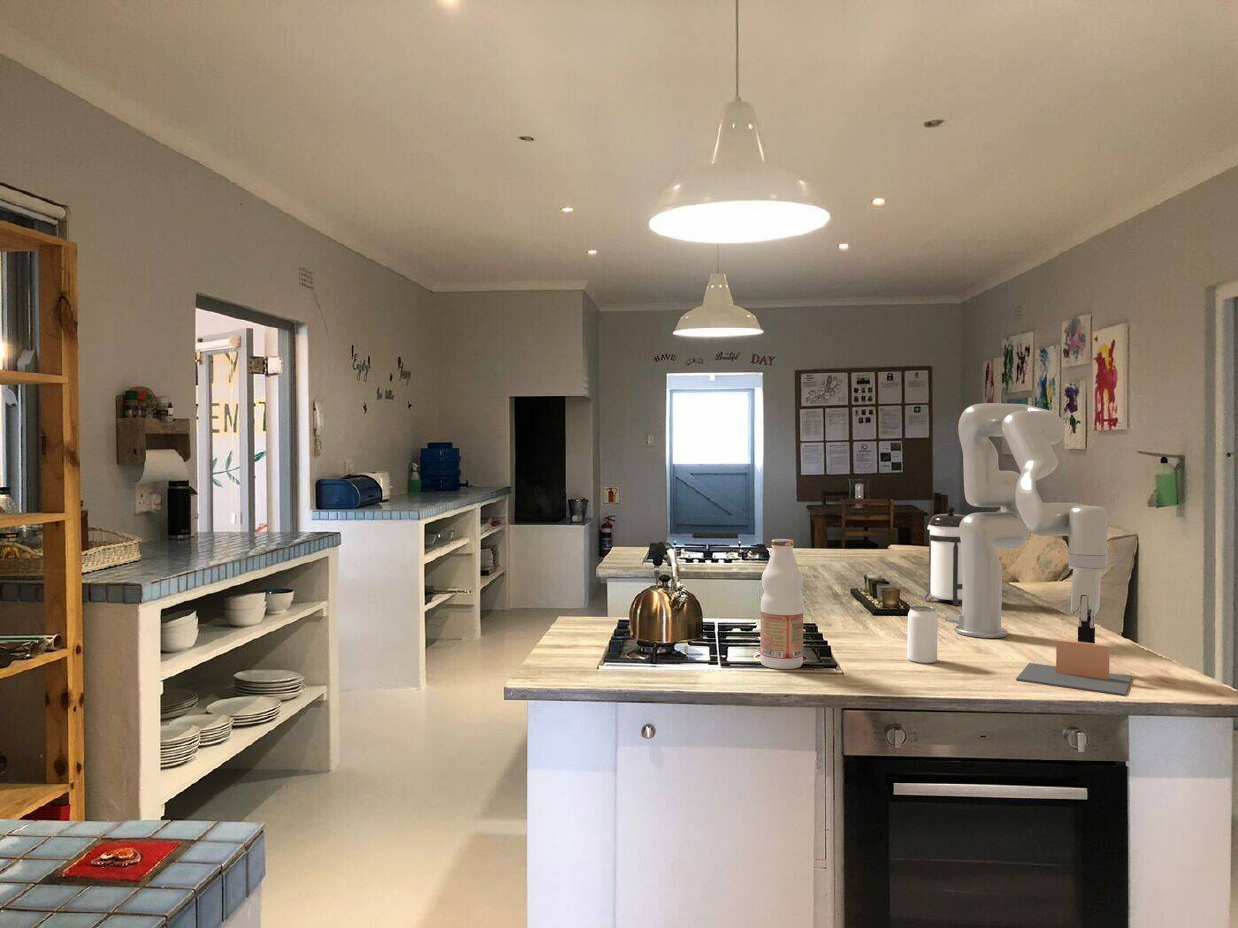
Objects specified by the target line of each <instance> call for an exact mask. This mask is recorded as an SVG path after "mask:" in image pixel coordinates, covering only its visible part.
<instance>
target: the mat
mask: <svg viewBox="0 0 1238 928" xmlns="http://www.w3.org/2000/svg"><path fill="white" fill-rule="evenodd" d="M1015 680H1016V681H1017V682H1024V683H1032V684H1040V685H1045V686H1046V685H1047V686H1053V687H1060V688H1069V689H1075V690H1081V691H1087V692H1088V691H1089V692H1096V693H1101V694H1107V695H1108V694H1109V695H1114V696H1115V695H1117V696H1124V697H1126V696H1127V692H1128V689H1129V687H1130V684H1131V681H1132V675H1125V674H1117V673H1110V674H1109V680H1106V679H1099V678H1091V677H1084V676H1076V675H1069V674H1061V673H1056V665H1049V664H1042V663H1041V664H1040V663H1034V662H1029V663H1028V664H1027V665H1026V666H1025V668H1024V669H1023V670H1022V671H1021V672H1020V673H1019V674H1018V676H1017V677H1016V679H1015Z"/></svg>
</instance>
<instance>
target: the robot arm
mask: <svg viewBox="0 0 1238 928" xmlns="http://www.w3.org/2000/svg"><path fill="white" fill-rule="evenodd" d="M957 427H958V428H957V429H958V438H959V442H960V446H961V450H962V456H963V460H962V461H963V487H964V488H963V492H964V497H965V500H966V502H967V503H968V504H969V505H971V506H973V507H976V508H977V507H978V508H1000V512H995V511H991V512H990V511H986V512H985V511H984V512H982V511H980V512H973V513H969V514H967V515H964V516H965V517H964V518H963V519H962V521H961V522H960V525H959V535H960V540H961V546H962V556H963V586H962V600H961V606H962V607H961V613H960V614H957V615H955V614H951V613H950V614H949V613H946V614H945V616H944V619H945V622H948V623H950V624H957V626H955V632H956V633H958V634H960V635H963V636H967V637H974V638H982V639H983V638H984V639H994V638H995V639H998V638H999V639H1000V638H1005V637H1007V636H1008V630H1007V629H1006V628H1004V627H1002V605H1003V604H1002V601H1003V600H1002V597H1003V593H1002V592H1003V590H1002V589H1003V566H1002V563H1001V561H1000V559H999V557H998V555H997V553H996V552H995V550H998V549H999V550H1001V549H1002V550H1005V549H1017V548H1021V547H1023V546H1024V545H1025V544H1026V543H1027V541H1028V538H1029V535H1030V532H1031V533H1032V534H1033V535H1036V536H1041V537H1042V536H1043V537H1057V536H1058V537H1059V536H1062V537H1065V536H1067V537H1068V562H1067V563H1068V566H1067V567H1068V569H1071V570H1072V576H1071V577H1072V578H1071V596H1070V611H1069V612H1070V613H1071V615H1075V613H1077V612H1078V626H1077V641H1078V642H1087V643H1096V627H1095V616H1096V614H1097V613H1098V612H1099V611H1100V610H1099V609H1100V601H1101V590H1102V589H1101V586H1102V585H1101V582H1102V581H1101V580H1102V572H1104V571H1107V570H1108V527H1109V525H1108V521H1109V518H1108V517H1109V515H1108V514H1109V513H1108V511H1107V509H1106V508H1105V507H1103V506H1098V505H1086V504H1081V503H1077V502H1043V500H1042V499H1041V496H1040V494H1039V492H1038V489H1037V481H1039V480H1041V479H1044V478H1045V477H1047V476H1048V475H1050V474H1051V473H1053V472H1054V471H1055V470H1056V468H1057V467H1058V464H1059V460H1058V458H1057V455H1056V454H1055V452H1054V450H1053V447H1052V446H1053V445H1056V444H1058V443H1059V442H1061V440H1063V437H1064V435H1065V425H1064V422H1063V420H1062V418H1061V416H1059V415H1058V414H1057V413H1056V412H1055V411H1052V410H1048V409H1045V408H1041V407H1037V406H1033V405H1029V404H1025V403H1000V402H999V403H997V402H996V403H995V402H991V403H990V402H988V403H983V402H982V403H976V404H975V403H974V404H973V405H970V406H968V407H967V408H965V409H964V410H963V412H962V413H961V416H960V418H959V420H958V425H957ZM989 437H1004V439H1005V440H1006V443H1007V445H1008V447H1009V449H1010V452H1011V454H1012V456H1013V459H1014V460H1015V463H1016V465H1017V467H1018V470H1019V471H1020V473H1019V472H1017V471H1014V470H1000V469H999V467H1000V466H999V453H998V450H997V449H996V447H995V445H994V443H993V442H992V441H991V440H990V439H989Z"/></svg>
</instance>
